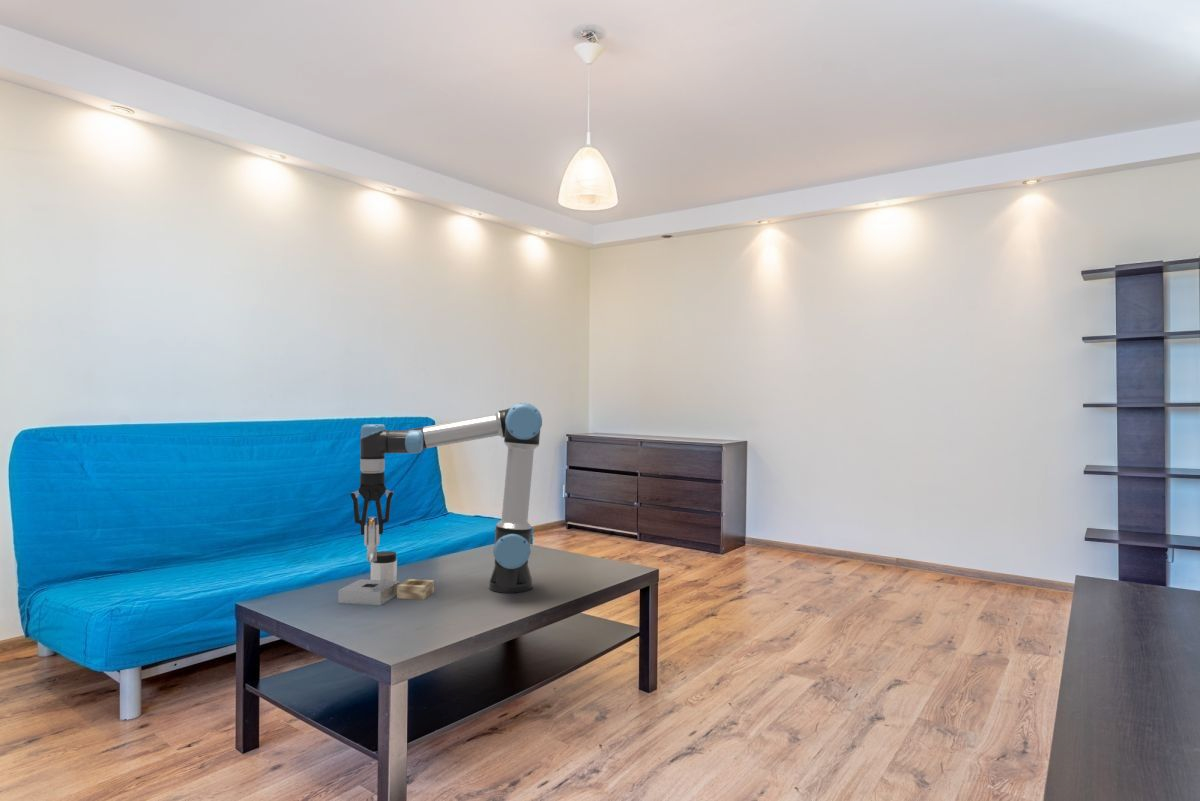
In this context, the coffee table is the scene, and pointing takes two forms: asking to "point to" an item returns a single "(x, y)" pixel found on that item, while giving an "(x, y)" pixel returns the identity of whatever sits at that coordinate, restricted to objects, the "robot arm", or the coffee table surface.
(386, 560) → the jar
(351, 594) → the block
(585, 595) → the coffee table surface
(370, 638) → the coffee table surface
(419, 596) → the holder
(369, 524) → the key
